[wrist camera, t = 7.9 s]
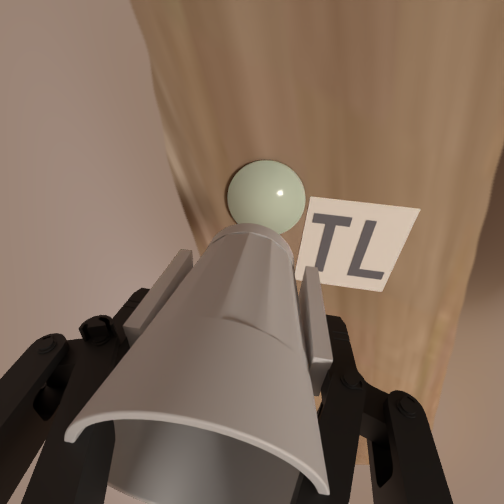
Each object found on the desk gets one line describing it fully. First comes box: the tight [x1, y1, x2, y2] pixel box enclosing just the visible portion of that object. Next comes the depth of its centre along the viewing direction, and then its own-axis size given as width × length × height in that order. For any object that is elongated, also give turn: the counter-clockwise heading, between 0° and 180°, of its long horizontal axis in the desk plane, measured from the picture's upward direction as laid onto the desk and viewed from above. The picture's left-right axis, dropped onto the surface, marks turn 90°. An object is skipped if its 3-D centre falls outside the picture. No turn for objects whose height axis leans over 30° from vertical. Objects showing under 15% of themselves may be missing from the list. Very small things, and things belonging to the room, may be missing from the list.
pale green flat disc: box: [227, 160, 305, 234], centre depth 28 cm, size 9×9×1 cm
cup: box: [64, 223, 330, 504], centre depth 12 cm, size 8×8×12 cm
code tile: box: [295, 196, 420, 292], centre depth 30 cm, size 12×12×1 cm
